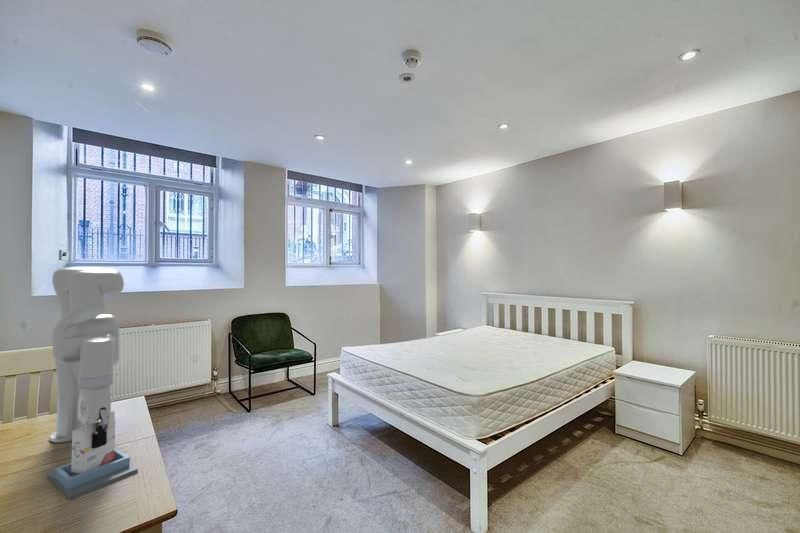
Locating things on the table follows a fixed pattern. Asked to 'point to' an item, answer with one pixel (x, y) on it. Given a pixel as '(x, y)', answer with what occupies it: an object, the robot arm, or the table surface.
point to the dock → (92, 476)
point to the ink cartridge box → (83, 451)
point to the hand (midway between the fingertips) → (94, 442)
